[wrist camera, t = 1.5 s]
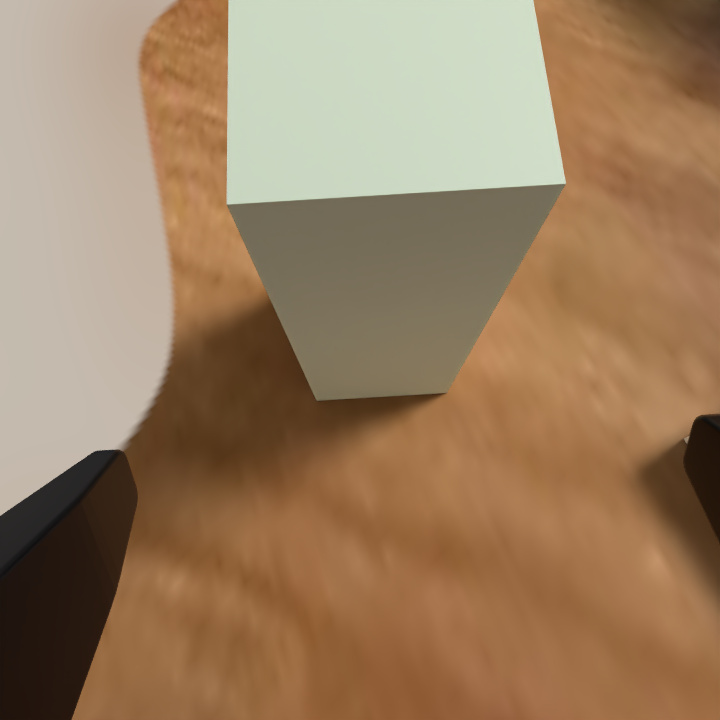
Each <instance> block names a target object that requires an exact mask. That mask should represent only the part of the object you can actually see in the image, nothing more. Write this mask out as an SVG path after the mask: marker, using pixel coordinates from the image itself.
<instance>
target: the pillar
mask: <svg viewBox="0 0 720 720" xmlns="http://www.w3.org/2000/svg"><path fill="white" fill-rule="evenodd" d="M565 184H566V182H565V176H564V170H563V165H562V159H561V154H560V148H559V142H558V137H557V131H556V126H555V120H554V114H553V109H552V103H551V98H550V92H549V86H548V81H547V75H546V70H545V64H544V58H543V53H542V47H541V42H540V36H539V30H538V25H537V19H536V14H535V8H534V2H533V0H229V18H228V126H227V206H228V208H229V210H230V213H231V215H232V217H233V219H234V221H235V224H236V226H237V228H238V230H239V232H240V235H241V237H242V239H243V241H244V243H245V245H246V248H247V250H248V252H249V254H250V256H251V259H252V261H253V263H254V265H255V267H256V269H257V272H258V274H259V276H260V278H261V280H262V283H263V285H264V287H265V289H266V291H267V294H268V296H269V298H270V300H271V302H272V304H273V307H274V309H275V311H276V313H277V315H278V318H279V320H280V322H281V324H282V326H283V329H284V331H285V333H286V335H287V337H288V339H289V342H290V344H291V346H292V348H293V350H294V353H295V355H296V357H297V359H298V361H299V363H300V366H301V368H302V370H303V372H304V374H305V377H306V379H307V381H308V383H309V385H310V388H311V390H312V392H313V394H314V396H315V398H316V401H321V400H337V399H354V398H371V397H387V396H404V395H421V394H438V393H447V392H448V390H449V388H450V386H451V385H452V383H453V381H454V379H455V378H456V376H457V374H458V372H459V371H460V369H461V367H462V365H463V364H464V362H465V360H466V358H467V357H468V355H469V353H470V351H471V350H472V348H473V346H474V344H475V343H476V341H477V339H478V337H479V335H480V334H481V332H482V330H483V328H484V327H485V325H486V323H487V321H488V320H489V318H490V316H491V314H492V313H493V311H494V309H495V307H496V306H497V304H498V302H499V300H500V299H501V297H502V295H503V293H504V292H505V290H506V288H507V286H508V284H509V283H510V281H511V279H512V277H513V276H514V274H515V272H516V270H517V269H518V267H519V265H520V263H521V262H522V260H523V258H524V256H525V255H526V253H527V251H528V249H529V248H530V246H531V244H532V242H533V241H534V239H535V237H536V235H537V234H538V232H539V230H540V228H541V226H542V225H543V223H544V221H545V219H546V218H547V216H548V214H549V212H550V211H551V209H552V207H553V205H554V204H555V202H556V200H557V198H558V197H559V195H560V193H561V191H562V190H563V188H564V186H565Z"/></svg>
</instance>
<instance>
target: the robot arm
mask: <svg viewBox="0 0 720 720" xmlns="http://www.w3.org/2000/svg"><path fill="white" fill-rule="evenodd" d="M683 463H684V468H685V472H686V474H687V476H688V478H689V481H690V483H691V485H692V487H693V489H694V491H695V493H696V495H697V498H698V500H699V502H700V504H701V506H702V508H703V510H704V512H705V515H706V517H707V519H708V521H709V523H710V525H711V527H712V529H713V532H714V534H715V536H716V538H717V540H718V542H719V544H720V414H708V415H700V416H698V417H697V418H696V419H695V420H694V422H693V425H692V428H691V432H690V435H689V439H688V442H687V446H686V450H685V453H684V459H683ZM137 499H138V495H137V488H136V485H135V482H134V479H133V476H132V473H131V469H130V466H129V463H128V460H127V457H126V455H125V454H124V452H122V451H121V450H102V451H95V452H93V453H91V454H90V455H88V456H87V457H86V458H84V459H83V460H81V461H80V462H78V463H77V464H75V465H74V466H72V467H71V468H70V469H68V470H67V471H65V472H64V473H62V474H61V475H59V476H58V477H56V478H55V479H53V480H52V481H51V482H49V483H48V484H46V485H45V486H43V487H42V488H40V489H39V490H37V491H36V492H34V493H33V494H32V495H30V496H29V497H28V498H26V499H24V500H23V501H21V502H20V503H18V504H17V505H16V506H14V507H13V508H11V509H10V510H8V511H7V512H5V513H4V514H3V515H1V516H0V720H72V717H73V714H74V711H75V708H76V706H77V703H78V700H79V697H80V694H81V691H82V689H83V686H84V683H85V680H86V677H87V674H88V672H89V669H90V666H91V663H92V660H93V657H94V655H95V652H96V649H97V646H98V643H99V641H100V638H101V635H102V632H103V629H104V626H105V624H106V621H107V618H108V615H109V612H110V609H111V607H112V603H113V600H114V597H115V594H116V591H117V587H118V583H119V580H120V575H121V571H122V567H123V562H124V558H125V554H126V550H127V545H128V541H129V537H130V532H131V528H132V524H133V519H134V515H135V511H136V506H137Z"/></svg>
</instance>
